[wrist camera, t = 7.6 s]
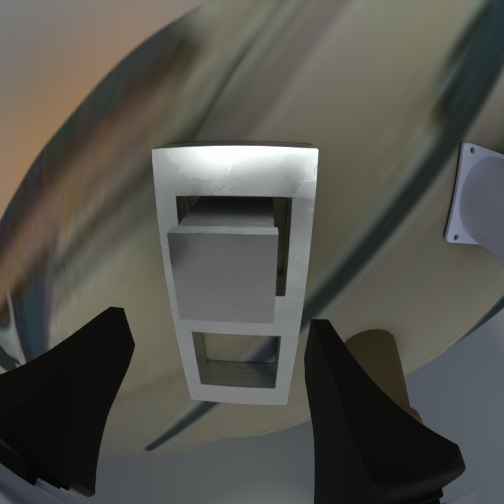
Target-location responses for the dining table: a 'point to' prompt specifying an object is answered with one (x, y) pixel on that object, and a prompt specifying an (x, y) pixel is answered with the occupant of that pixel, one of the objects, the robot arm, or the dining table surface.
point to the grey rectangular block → (226, 260)
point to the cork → (382, 365)
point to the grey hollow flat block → (287, 283)
